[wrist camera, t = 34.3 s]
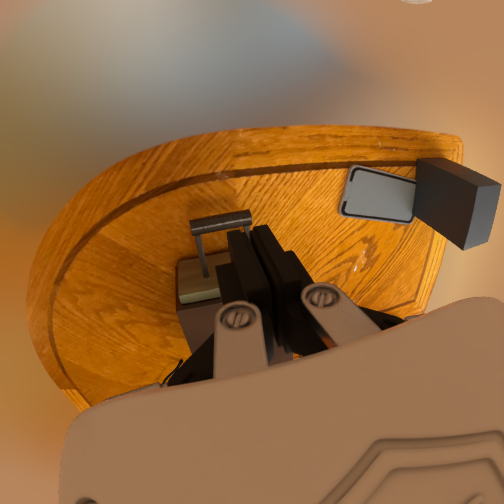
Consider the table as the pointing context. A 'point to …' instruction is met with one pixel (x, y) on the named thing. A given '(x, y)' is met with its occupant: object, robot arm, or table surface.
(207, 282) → the drawer
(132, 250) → the table surface
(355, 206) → the smartphone
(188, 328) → the cabinet
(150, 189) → the table surface
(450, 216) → the stand
